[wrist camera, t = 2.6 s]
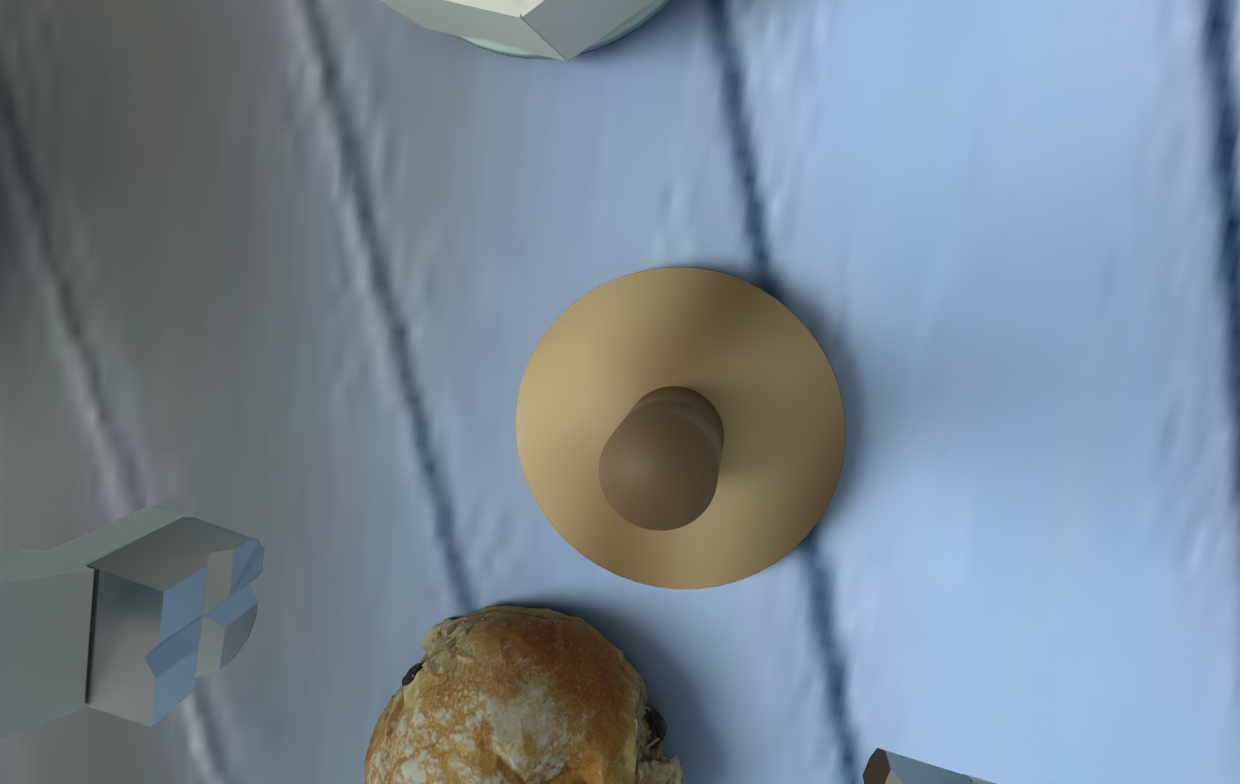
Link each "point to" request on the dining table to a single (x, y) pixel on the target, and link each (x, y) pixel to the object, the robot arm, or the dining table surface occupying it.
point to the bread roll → (520, 708)
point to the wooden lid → (680, 428)
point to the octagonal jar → (532, 23)
